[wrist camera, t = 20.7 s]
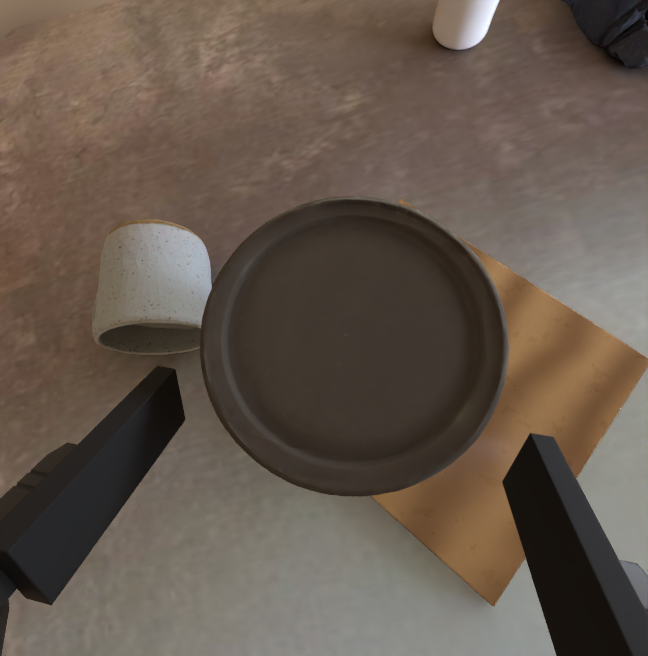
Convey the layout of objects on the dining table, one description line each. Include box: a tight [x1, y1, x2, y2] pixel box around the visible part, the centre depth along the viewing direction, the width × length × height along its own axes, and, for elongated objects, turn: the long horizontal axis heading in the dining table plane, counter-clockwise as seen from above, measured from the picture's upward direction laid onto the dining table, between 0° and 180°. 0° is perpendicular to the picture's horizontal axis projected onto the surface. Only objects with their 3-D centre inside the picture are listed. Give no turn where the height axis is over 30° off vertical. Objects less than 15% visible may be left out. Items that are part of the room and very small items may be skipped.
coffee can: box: [200, 196, 509, 496], centre depth 18 cm, size 10×10×14 cm
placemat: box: [371, 199, 648, 606], centre depth 25 cm, size 22×20×1 cm
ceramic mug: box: [92, 219, 212, 355], centre depth 24 cm, size 11×8×8 cm
